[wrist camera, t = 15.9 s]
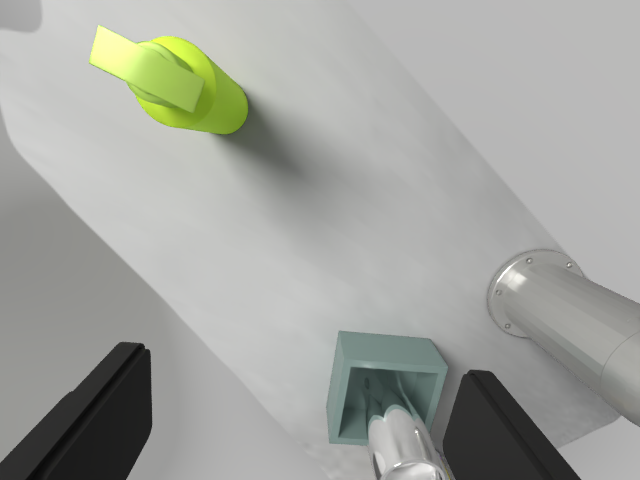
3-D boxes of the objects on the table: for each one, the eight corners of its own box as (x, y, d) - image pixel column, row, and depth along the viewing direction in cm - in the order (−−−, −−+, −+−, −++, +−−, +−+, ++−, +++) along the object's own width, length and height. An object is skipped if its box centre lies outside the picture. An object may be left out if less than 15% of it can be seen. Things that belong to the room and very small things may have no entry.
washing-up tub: (429, 338, 45) (448, 367, 39) (410, 412, 48) (425, 448, 42) (338, 330, 43) (344, 359, 38) (326, 407, 47) (329, 443, 41)
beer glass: (355, 356, 44) (380, 459, 29) (405, 356, 44) (453, 458, 30) (351, 397, 46) (373, 512, 31) (399, 397, 46) (442, 511, 32)
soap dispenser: (244, 147, 36) (177, 148, 17) (186, 119, 35) (43, 86, 16) (265, 97, 35) (216, 37, 16) (205, 66, 34) (73, -40, 14)
